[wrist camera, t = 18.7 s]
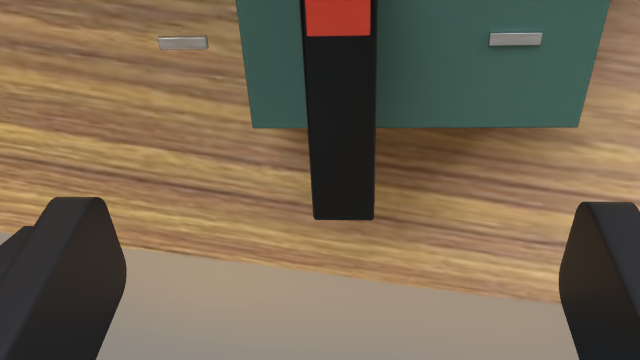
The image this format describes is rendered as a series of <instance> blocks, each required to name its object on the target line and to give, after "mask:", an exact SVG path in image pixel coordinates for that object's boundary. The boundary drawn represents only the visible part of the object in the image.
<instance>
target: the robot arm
mask: <svg viewBox="0 0 640 360" xmlns="http://www.w3.org/2000/svg"><path fill="white" fill-rule="evenodd" d="M125 283H126V262H125V258H124V255H123V252H122V249H121V246H120V243H119V240H118V237H117V234H116V231H115V229H114V226H113V223H112V220H111V217H110V214H109V211H108V208H107V206H106V204H105V202H104V201H103V199H101V198H99V197H55V198H53V199H52V200H51V201H50V202H49V203H48V205H47V206H46V208H45V210H44V211H43V213H42V214H41V216H40V217H39V219H38V220H37V222H36V224H35V225H34V226H24V227H23V228H21V229H20V230H19V231H18V232H16V233H15V234H14V235H13V236H11V237H10V238H9V239H8V240H7V241H5V242H4V243H3V244H2V245H1V246H0V360H96V357H97V355H98V353H99V350H100V348H101V345H102V343H103V341H104V338H105V335H106V333H107V331H108V329H109V326H110V324H111V321H112V319H113V317H114V314H115V312H116V309H117V307H118V305H119V302H120V300H121V297H122V295H123V292H124V288H125ZM559 292H560V299H561V303H562V306H563V310H564V313H565V316H566V319H567V322H568V325H569V328H570V331H571V334H572V338H573V340H574V344H575V347H576V350H577V353H578V356H579V360H640V212H639V210H638V208H637V207H636V206H635V204H633V203H631V202H582V203H580V205H579V206H578V208H577V210H576V213H575V217H574V220H573V224H572V227H571V231H570V234H569V238H568V241H567V245H566V248H565V252H564V255H563V259H562V262H561V266H560V271H559Z"/></svg>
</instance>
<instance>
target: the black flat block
mask: <svg viewBox="0 0 640 360" xmlns="http://www.w3.org/2000/svg"><path fill="white" fill-rule="evenodd" d="M299 9H300V24H301V39H302V54H303V69H304V84H305V99H306V114H307V129H308V144H309V159H310V174H311V189H312V204H313V217H314V219H315V220H373V219H374V206H375V143H376V80H377V17H378V0H299Z"/></svg>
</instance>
